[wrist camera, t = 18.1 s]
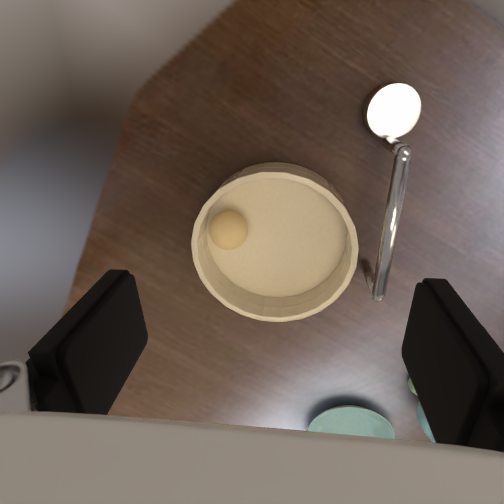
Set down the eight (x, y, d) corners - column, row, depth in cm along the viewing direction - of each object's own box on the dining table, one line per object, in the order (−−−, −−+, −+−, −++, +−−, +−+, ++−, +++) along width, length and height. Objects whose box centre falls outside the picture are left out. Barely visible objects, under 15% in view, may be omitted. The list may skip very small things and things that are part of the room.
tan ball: (208, 226, 31) (207, 203, 34) (209, 258, 33) (209, 234, 36) (250, 225, 31) (246, 202, 34) (249, 257, 34) (245, 233, 37)
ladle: (365, 83, 29) (385, 81, 22) (419, 82, 28) (454, 80, 22) (343, 266, 37) (353, 303, 30) (384, 268, 36) (403, 306, 30)
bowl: (196, 161, 34) (183, 171, 30) (360, 162, 32) (369, 173, 28) (208, 294, 41) (198, 316, 37) (342, 302, 39) (347, 326, 35)
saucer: (392, 393, 44) (396, 408, 42) (389, 449, 49) (393, 464, 47) (303, 393, 46) (303, 407, 44) (309, 447, 51) (309, 462, 49)
